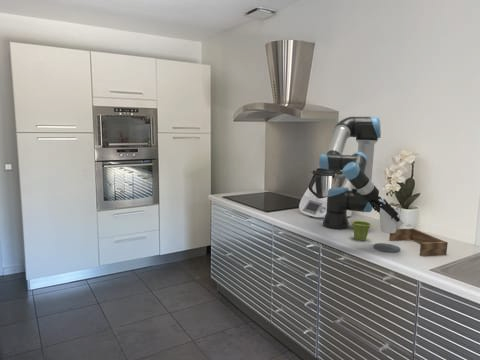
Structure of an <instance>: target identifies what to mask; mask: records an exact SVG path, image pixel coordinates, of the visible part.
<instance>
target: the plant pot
mask: <svg viewBox="0 0 480 360" xmlns="http://www.w3.org/2000/svg"><path fill="white" fill-rule="evenodd" d="M351 224H352V226H353V239H355V240H356V241H366V240H367V238H368V234H369V229H370V227H371V225H372V224H371V222H367V221H364V220H363V221H362V220H353V221H351Z"/></svg>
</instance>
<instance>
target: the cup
mask: <svg viewBox="0 0 480 360" xmlns="http://www.w3.org/2000/svg"><path fill="white" fill-rule="evenodd" d="M390 206H391V207H392V208H393V209H394V210H395V211H396V212H397V213H398V215H397V216H398V217H399V218H400V217H401V207H399V206H396V205H390ZM379 223H380V232H382V233H386V234H390V233H395V232H396V229H398V228H397V227H398V226H397V224H396V223H395V222H394V221H393V220H392V219H391V216H390V215H389V214H388V213H386V212H385V211H384V210H383V209H382V208H380V214H379Z"/></svg>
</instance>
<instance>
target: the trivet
mask: <svg viewBox="0 0 480 360" xmlns="http://www.w3.org/2000/svg"><path fill="white" fill-rule="evenodd" d="M373 248H374V249H375V250H378V251H380V252H386V253H399V252H400V251H401V248H400V247H399V246H397V245H395V244H391V243H383V242H382V243H381V242H379V243H375V244H373Z"/></svg>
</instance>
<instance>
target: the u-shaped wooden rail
mask: <svg viewBox="0 0 480 360" xmlns="http://www.w3.org/2000/svg"><path fill="white" fill-rule="evenodd" d="M388 240H389V241H390V242H391V241H392V242H393V241H394V242H395V241H413V242H415V243H417V244H419V245H420V246H419V247H420V248H419V257H427V256H447V252H448V242H447V241H445V240H443V239H440V238H438V237H435V236H432V235H431V234H428V233H425V232H423V231H421V230H418V229H415V228H397V229H396V232H395V233H389V239H388Z"/></svg>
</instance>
